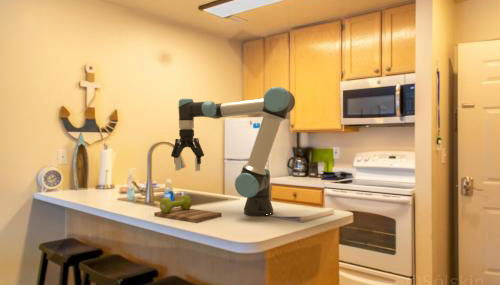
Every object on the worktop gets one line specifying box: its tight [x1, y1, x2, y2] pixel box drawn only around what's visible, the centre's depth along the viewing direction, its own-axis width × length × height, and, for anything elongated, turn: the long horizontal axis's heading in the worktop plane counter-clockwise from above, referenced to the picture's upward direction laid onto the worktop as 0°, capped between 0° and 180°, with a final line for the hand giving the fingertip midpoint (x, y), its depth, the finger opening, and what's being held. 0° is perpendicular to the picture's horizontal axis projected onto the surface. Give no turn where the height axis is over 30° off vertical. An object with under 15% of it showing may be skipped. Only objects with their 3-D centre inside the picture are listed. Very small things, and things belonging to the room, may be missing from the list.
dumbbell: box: [159, 194, 193, 213], centre depth 187 cm, size 16×8×7 cm, turn 139°
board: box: [153, 206, 222, 224], centre depth 183 cm, size 28×18×2 cm, turn 56°
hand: (187, 170), depth 189 cm, fingers open, 13 cm apart
